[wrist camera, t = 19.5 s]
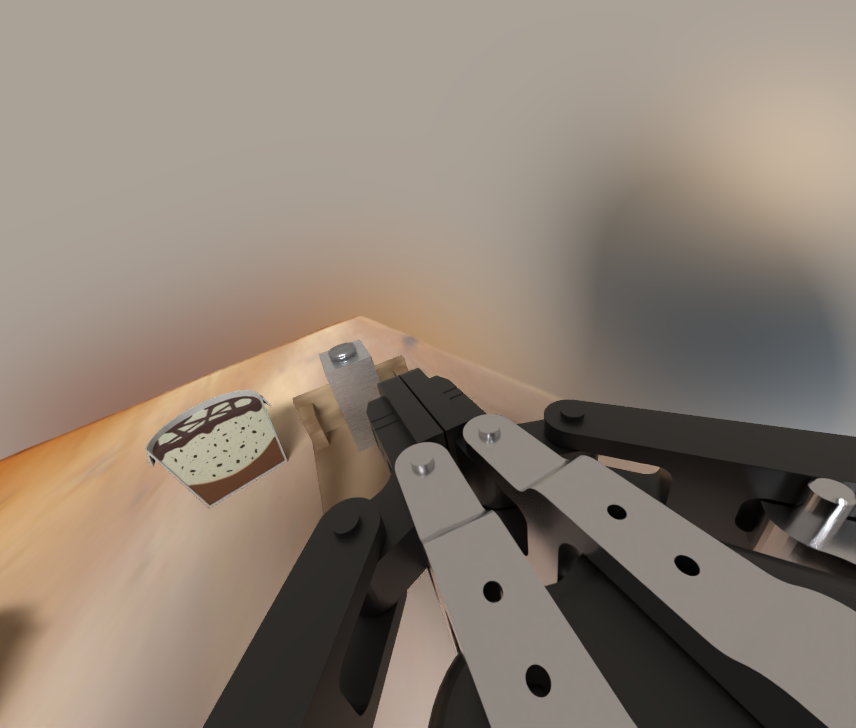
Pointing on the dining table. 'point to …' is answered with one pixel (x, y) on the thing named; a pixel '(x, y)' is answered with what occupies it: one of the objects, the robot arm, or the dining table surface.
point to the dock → (343, 444)
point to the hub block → (353, 387)
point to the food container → (219, 445)
